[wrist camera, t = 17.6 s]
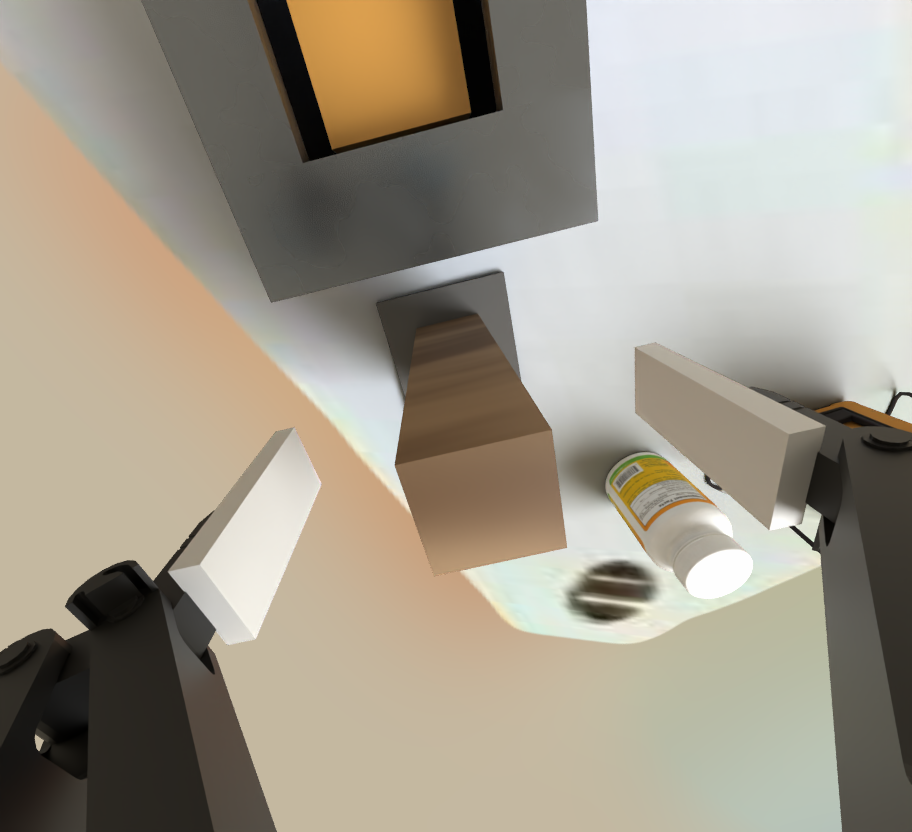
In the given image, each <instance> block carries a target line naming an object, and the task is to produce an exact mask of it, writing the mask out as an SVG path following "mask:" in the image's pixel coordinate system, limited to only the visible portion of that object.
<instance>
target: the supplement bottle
mask: <svg viewBox="0 0 912 832" xmlns="http://www.w3.org/2000/svg"><path fill="white" fill-rule="evenodd" d="M605 488H606V493H607V496H608V498H609V499H610V501H611V502H612V504H613V505H614V507H615V508H616V509H617V511H618V512H619V514H620V515H621V517H622V518H623V520H624V521H625V522H626V524H627V525H628V527H629V528H630V530H631V531H632V533H633V534H634V535H635V537H636V538H637V540H638V541H639V543H640V544H641V546H642V547H643V549H644V550H645V552H646V553H647V554H648V556H649V557H650V558H651V559H652V561H653V562H654V563H655V564H656V565H658V566H659V567H660V568H662V569H664V570H667V571H670V572H674V573H675V576H676V577H677V579H678V580H679V581H680V582H681V583H682V585H683V586H684V587H685V588H686V590H687V591H688V592H689V593H690V594H692V595H693V596H695V597H699V598H705V599H709V598H717V597H720V596H724V595H726V594H729V593H731V592H732V591H734V590H736V589H737V588H739V587H740V586H741V585H742V584H743V583H744V582H745V581H746V580H747V579H748V577H749V576H750V574H751V572H752V568H753V563H752V559H751V557H750V555H749V554H748V553H747V552H746V551H745V550H744V549H743V548H742V547H741V546H740V545H739V544H738V543H737V542H736V541H735V540H734V539H733V538H732V527H731V523H730V521H729V519H728V518H727V516H726V515H725V514H724V513H723V512H722V511H721V510H720V509H719V508H718V507H717V506H716V505H715V504H714V503H713V502H712V501H711V500H709V499H708V498H707V497H706V496H705V495H704V494H703V493H702V492H701V491H700V490H699V489H698V488H696V487H695V486H694V485H693V484H692V483H691V482H690V481H689V480H688V479H687V478H686V477H685V476H683V475H682V474H681V473H680V472H679V471H678V470H677V469H676V468H675V467H674V466H673V465H672V464H671V463H669V462H668V461H667V460H666V459H665V458H663V457H662V456H660V455H658V454H655V453H650V452H641V453H636V454H632V455H630V456H628V457H626V458H624V459H622V460H621V461H619V462H618V463H617V464H616V465H615V466H614V467H613V468H612V469H611V471H610V472H609V474H608V476H607V479H606V484H605Z"/></svg>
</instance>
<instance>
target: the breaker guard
mask: <svg viewBox="0 0 912 832" xmlns="http://www.w3.org/2000/svg"><path fill="white" fill-rule="evenodd" d="M141 1H142V3H143V5H144V8H145V10H146V12H147V15H148V17H149V19H150V22H151V24H152V26H153V29H154V31H155V33H156V36H157V38H158V40H159V43H160V45H161V47H162V50H163V52H164V54H165V57H166V59H167V61H168V64H169V66H170V68H171V71H172V73H173V75H174V78H175V80H176V82H177V85H178V87H179V89H180V92H181V94H182V96H183V99H184V101H185V103H186V106H187V108H188V110H189V113H190V115H191V117H192V120H193V122H194V124H195V127H196V129H197V131H198V134H199V136H200V138H201V141H202V143H203V145H204V148H205V150H206V152H207V154H208V157H209V159H210V161H211V164H212V166H213V168H214V171H215V173H216V175H217V178H218V180H219V182H220V185H221V187H222V189H223V192H224V194H225V196H226V199H227V201H228V203H229V206H230V208H231V210H232V213H233V215H234V217H235V220H236V222H237V224H238V227H239V229H240V231H241V234H242V236H243V238H244V241H245V243H246V245H247V248H248V250H249V252H250V255H251V257H252V259H253V262H254V264H255V266H256V269H257V271H258V273H259V276H260V278H261V280H262V283H263V285H264V287H265V290H266V292H267V294H268V297H269V299H270V301H271V303H272V302H276V301H280V300H284V299H288V298H292V297H296V296H300V295H304V294H308V293H312V292H316V291H320V290H324V289H328V288H332V287H336V286H340V285H344V284H348V283H352V282H356V281H360V280H364V279H368V278H372V277H376V276H380V275H384V274H388V273H392V272H396V271H400V270H404V269H408V268H412V267H416V266H420V265H424V264H428V263H432V262H436V261H440V260H444V259H448V258H452V257H456V256H460V255H464V254H468V253H472V252H476V251H480V250H484V249H488V248H492V247H496V246H500V245H504V244H508V243H512V242H516V241H520V240H524V239H528V238H532V237H536V236H540V235H544V234H548V233H552V232H556V231H560V230H564V229H568V228H572V227H576V226H580V225H584V224H588V223H592V222H596V221H598V210H597V192H596V174H595V155H594V137H593V119H592V101H591V82H590V64H589V46H588V27H587V9H586V0H481V4H482V11H483V18H484V25H485V32H486V39H487V46H488V53H489V60H490V67H491V74H492V81H493V88H494V95H495V102H496V109H497V112H494V113H490V114H486V115H483V116H479V117H475V118H471V119H468V120H464V121H460V122H456V123H453V124H449V125H445V126H441V127H437V128H434V129H430V130H426V131H422V132H419V133H415V134H411V135H407V136H403V137H400V138H396V139H392V140H388V141H385V142H381V143H377V144H373V145H369V146H366V147H362V148H358V149H354V150H351V151H347V152H343V153H339V154H335V155H332V156H328V157H324V158H320V159H317V160H313V161H310V160H309V157H308V154H307V151H306V148H305V145H304V142H303V139H302V136H301V133H300V130H299V127H298V124H297V121H296V118H295V115H294V112H293V109H292V106H291V103H290V100H289V97H288V94H287V91H286V88H285V85H284V82H283V79H282V76H281V73H280V70H279V67H278V64H277V61H276V58H275V55H274V52H273V49H272V46H271V43H270V40H269V37H268V34H267V31H266V28H265V25H264V22H263V19H262V16H261V13H260V10H259V7H258V4H257V1H256V0H141Z"/></svg>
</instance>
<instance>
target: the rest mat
mask: <svg viewBox="0 0 912 832" xmlns="http://www.w3.org/2000/svg"><path fill="white" fill-rule="evenodd" d="M376 305H377V308H378V311H379V315H380V318H381V321H382V324H383V328H384V331H385V334H386V337H387V340H388V344H389V347H390V350H391V353H392V356H393V360H394V363H395V366H396V369H397V373H398V376H399V379H400V382H401V385H402V389H403V392H404V395H405V397H406V391H407V385H408V378H409V372H410V366H411V360H412V353H413V347H414V341H415V334H416V328H420V327H424V326H429V325H433V324H437V323H441V322H445V321H449V320H453V319H457V318H462V317H466V316H470V315H474V314H479V316H480V318H481V319H482V321H483V322H484V324H485V325H486V327H487V329H488V330H489V332H490V333H491V335H492V336H493V338H494V340H495V341H496V343H497V344H498V346H499V347H500V349H501V351H502V352H503V354H504V355H505V357H506V359H507V360H508V362H509V363H510V365H511V366H512V368H513V370H514V371H515V373H516V374H517V376H518V377H519V379H520V381H521V377H520V371H519V365H518V359H517V352H516V346H515V340H514V334H513V328H512V321H511V315H510V309H509V303H508V296H507V290H506V284H505V278H504V272H500V273H496V274H491V275H487V276H483V277H479V278H475V279H471V280H467V281H463V282H459V283H455V284H451V285H447V286H443V287H439V288H435V289H431V290H427V291H423V292H419V293H415V294H410V295H406V296H402V297H398V298H394V299H390V300H386V301H382V302H378V303H376Z"/></svg>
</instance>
